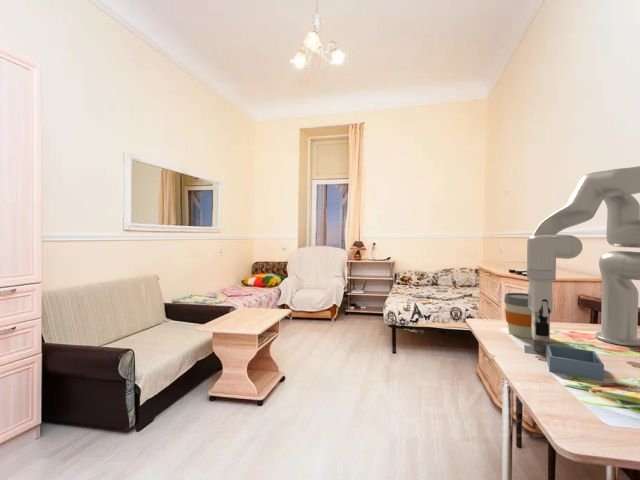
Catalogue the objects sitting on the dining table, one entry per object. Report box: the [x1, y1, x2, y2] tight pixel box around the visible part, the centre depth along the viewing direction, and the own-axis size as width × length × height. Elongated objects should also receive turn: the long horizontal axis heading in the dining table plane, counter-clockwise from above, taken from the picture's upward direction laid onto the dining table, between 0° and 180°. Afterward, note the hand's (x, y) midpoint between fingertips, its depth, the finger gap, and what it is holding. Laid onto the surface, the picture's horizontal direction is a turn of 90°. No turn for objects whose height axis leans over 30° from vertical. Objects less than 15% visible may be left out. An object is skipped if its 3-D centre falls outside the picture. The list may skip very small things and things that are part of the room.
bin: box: [545, 344, 605, 382], centre depth 91 cm, size 11×11×5 cm
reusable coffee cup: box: [503, 292, 532, 339], centre depth 122 cm, size 12×13×15 cm
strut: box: [530, 311, 551, 351], centre depth 104 cm, size 4×4×12 cm
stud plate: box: [523, 344, 546, 357], centre depth 104 cm, size 8×8×4 cm
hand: (540, 332), depth 104 cm, fingers closed on strut, 4 cm apart
